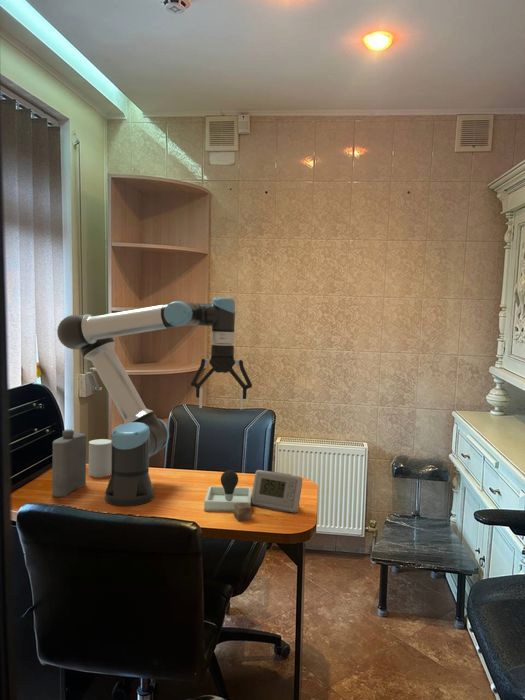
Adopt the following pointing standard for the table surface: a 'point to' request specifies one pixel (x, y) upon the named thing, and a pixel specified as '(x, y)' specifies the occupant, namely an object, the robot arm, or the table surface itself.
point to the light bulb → (229, 483)
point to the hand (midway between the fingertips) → (221, 408)
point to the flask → (68, 463)
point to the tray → (219, 503)
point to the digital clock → (276, 491)
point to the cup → (100, 457)
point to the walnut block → (243, 512)
